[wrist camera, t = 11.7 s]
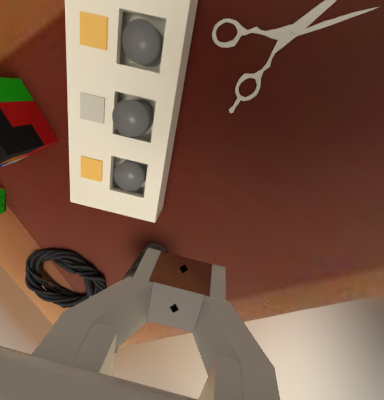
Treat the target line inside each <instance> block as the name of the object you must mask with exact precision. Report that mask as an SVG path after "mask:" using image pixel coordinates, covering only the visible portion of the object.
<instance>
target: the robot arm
mask: <svg viewBox="0 0 384 400" xmlns="http://www.w3.org/2000/svg"><path fill="white" fill-rule="evenodd" d="M146 321H150V322H154V323H158V324H163V325H167V326H171V327H174V328H178V329H181V330H185V331H188V332H192V333H193V336H194V339H195V341H196V344H197V347H198V349H199V352H200V355H201V358H202V360H203V363H204V366H205V369H206V371H207V374H208V378H207V381H206V383H205V385H204V388H203V390H202V393H201V395H200V397H199V399H194V398H191V397H187V396H183V395H179V394H176V393H172V392H168V391H165V390H161V389H157V388H153V387H149V386H146V385H142V384H139V383H135V382H131V381H127V380H124V379H120V378H116V377H113V376H112V373H113V364H114V354H115V350H116V349H117V348H118V347H119V346H120V345H121V344H122V343H124V342H125V341H126V340H127V339H128V338H129V337H130V336H131V335H132V334H133V333H135V332H136V331H137V330H138V329H139V328H140V327H141V326H142V325H143V324H144V323H146ZM0 400H280V397H279V391H278V386H277V380H276V375H275V369H274V367H273V365H272V364H271V362H270V361H269V359H268V358H267V356H266V355H265V354H264V352H263V350H262V349H261V347H260V346H259V345H258V343H257V342H256V340H255V339H254V337H253V336H252V334H251V333H250V331H249V330H248V328H247V327H246V325H245V324H244V322H243V321H242V319H241V318H240V316H239V315H238V313H237V312H236V310H235V309H234V308H233V306H232V305H231V303H230V302H227V301H226V269H225V267H224V266H219V265H215V264H209V263H205V262H201V261H197V260H193V259H189V258H185V257H182V256H178V255H174V254H171V253H167V252H164V251H159V250H156V249H152V248H148V249H147V250H146V252H145V254H144V256H143V258H142V260H141V262H140V264H139V266H138V268H137V270H136V272H135V274H134V276H133V277H130V276H128V277H127V278H125V279H123V280H121V281H119V282H117V283H116V284H114V285H112V286H110V287H108V288H106V289H104V290H103V291H101V292H99V293H97V294H95V295H93V296H92V297H90V298H88V299H86V300H84V301H82V302H81V303H79V304H77V305H75V306H73V307H71V308H69V309H68V310H66V311H64V312H63V313H62V314H61V316H60V317H59V318H58V320H57V321H56V322H55V324H54V325H53V327H52V328H51V329H50V331H49V332H48V333H47V335H46V336H45V337H44V339H43V340H42V341H41V343H40V344H39V345H38V347H37V348H36V349H35V351H34V352H33V353H32V355H31V354H27V353H23V352H20V351H16V350H12V349H9V348H5V347H1V346H0Z"/></svg>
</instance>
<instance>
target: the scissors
mask: <svg viewBox="0 0 384 400" xmlns="http://www.w3.org/2000/svg"><path fill="white" fill-rule="evenodd" d="M335 1H336V0H325V1H323V2H322V3H320V4H319V5H318V6H316V7H315V8H314V9H312V10H311V11H310V12H308V13H307V14H306V15H304V16H303V17H302V18H300V19H299V20H298V21H296V22H295V23H294V24H292V25H288V26H284V27H281V28H278V29H273V30H268V31H263V30H260V29H259V28H258V27H255V28H252V29H249V30H246V29H245V28H244V27H242V26H241V25H240V24H239V23H238V22H237V21H235V20H232V19H223V20H221V21H219V22H218V23H217V24H216V25H215V27H214V29H213V32H212V39H213V41H214V43H215V44H216V45H218V46H219V47H224V48H229V47H234V46H235V45H236V43H237V42H238V40H239V39H240V37H241V36H245V35H247V34H249V33H255V34H260V35H264V36H266V37H268V38H271V39H274V40H278V41H277V43H276V45H275V47H274V49H273V51H272V53H271V55H270V57H269V59H268V61H267V63H266V64H265V66H264V67H263V68H262V69H261V70H259V71H258V72H256V73H255V74H247V73H245V74H244V75H243V76H242V77H241V78H240V79H239V81H238V83H237V85H236V88H235V93H236V96H237V99H236V101H235V103H234V105H233V106H232V107H231V108H230V109H229V112H230V113H233V112H234V109H235V107H236V106H237V105H238V104H239V102H240V100H242V101H246V100H250V99H252V98H253V97H255V96H256V95H257V93H258V91H259V89H260V85H261V76H262V74H263V72H264V70H266V69H267V68H269V67H270V65H271V60H272V58H273V56H274V54H275V53H276V52H277V51H279V50H280V49H281V48H283V47H284V46H285V45H286V44H287V43H289V42H290V41H291V40H292V39H294V38H295V37H296V36H299V35H302V34H305V33H308V32H312V31H315V30H318V29H321V28H324V27H327V26H330V25H333V24H336V23H338V22H341V21H343V20H346V19H349V18H352V17H354V16H357V15H360V14H363V13H366V12H368V11H371V10H373V9H376V8H378V7H376V8H371V9H367V10H362V11H358V12H353V13H350V14H347V15H344V16H340V17H337V18H335V19H331V20H326V21H324V22H321V23H319V24H316V25H314V26H311V27H309V28H306V27H308V26H309V25H310V24H311V23H312V22H313V21H314V20H315V19H316V18H318V17H319V16H320V15H321V14H322V13H323V12H324V11H325V10H326V9H328V8H329V7H330V6H331V5H332V4H333V3H334V2H335ZM226 22H227V23H231V24H233V25H235V26H236V29H237V35H236V37H235V38H234V39H233V40H231V41H229V42H226V43H224V42H219V41H218V40H217V37H216V30H217V28H218V27H219V26H220V25H222V24H224V23H226ZM305 28H306V29H305ZM248 78H253V79H255V80H256V84H257V87H256V89H255V91H254V92H253V94H251V95H249V96H247V97H243V96H241V95H240V94H239V86H240V84H241V83H242V82H243V81H244V80H245V79H248Z"/></svg>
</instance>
